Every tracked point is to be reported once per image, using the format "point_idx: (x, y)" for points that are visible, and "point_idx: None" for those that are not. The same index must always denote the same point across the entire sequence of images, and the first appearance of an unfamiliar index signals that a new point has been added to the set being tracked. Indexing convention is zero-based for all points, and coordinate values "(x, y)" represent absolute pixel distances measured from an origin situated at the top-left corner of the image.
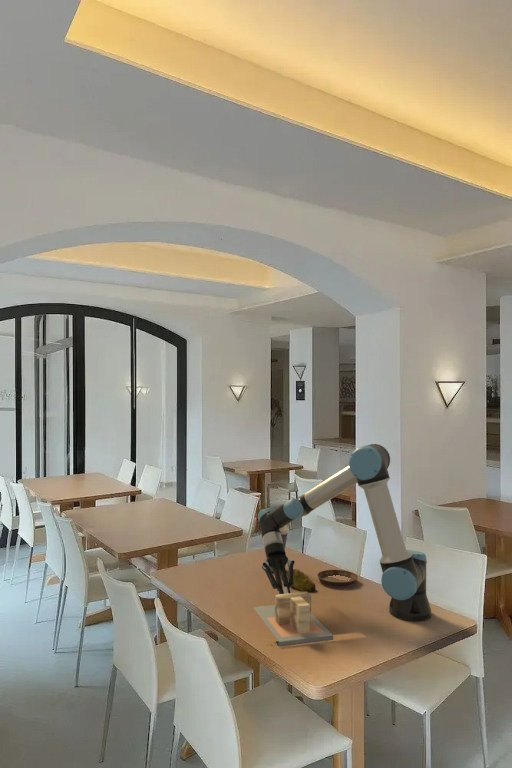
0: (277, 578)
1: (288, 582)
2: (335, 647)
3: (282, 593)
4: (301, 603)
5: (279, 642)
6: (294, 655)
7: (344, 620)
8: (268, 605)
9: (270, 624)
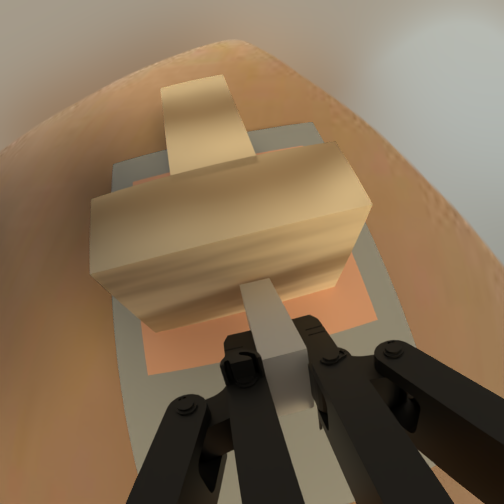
0: (392, 421)
1: (230, 405)
2: (134, 137)
3: (305, 330)
4: (200, 94)
5: (310, 124)
6: (265, 99)
7: (15, 328)
8: None
9: (354, 245)
